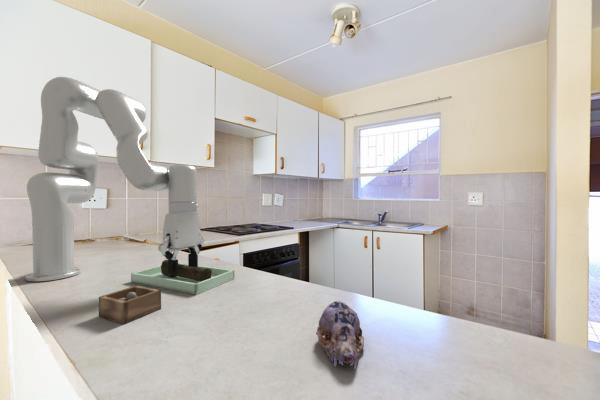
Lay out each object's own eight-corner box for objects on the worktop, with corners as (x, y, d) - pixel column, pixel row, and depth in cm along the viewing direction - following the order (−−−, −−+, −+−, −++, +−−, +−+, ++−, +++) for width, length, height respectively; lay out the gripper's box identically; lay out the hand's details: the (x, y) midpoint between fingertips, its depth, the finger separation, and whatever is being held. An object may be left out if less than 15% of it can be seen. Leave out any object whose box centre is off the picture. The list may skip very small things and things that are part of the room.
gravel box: (98, 316, 56) (98, 295, 56) (136, 303, 63) (136, 284, 63) (124, 324, 53) (123, 301, 53) (161, 308, 60) (160, 288, 60)
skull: (368, 377, 37) (367, 331, 37) (311, 371, 39) (310, 327, 38) (362, 333, 49) (362, 298, 49) (318, 330, 50) (318, 296, 50)
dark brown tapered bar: (212, 281, 78) (212, 264, 78) (201, 285, 74) (201, 267, 74) (169, 272, 87) (169, 257, 87) (157, 275, 84) (157, 260, 84)
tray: (131, 282, 79) (130, 273, 79) (174, 269, 92) (174, 262, 92) (196, 294, 69) (196, 284, 69) (234, 278, 82) (234, 270, 82)
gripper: (196, 207, 90) (196, 262, 90) (146, 209, 74) (147, 276, 74) (214, 207, 87) (214, 265, 87) (166, 209, 71) (167, 280, 71)
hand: (183, 269), depth 81 cm, fingers open, 6 cm apart
